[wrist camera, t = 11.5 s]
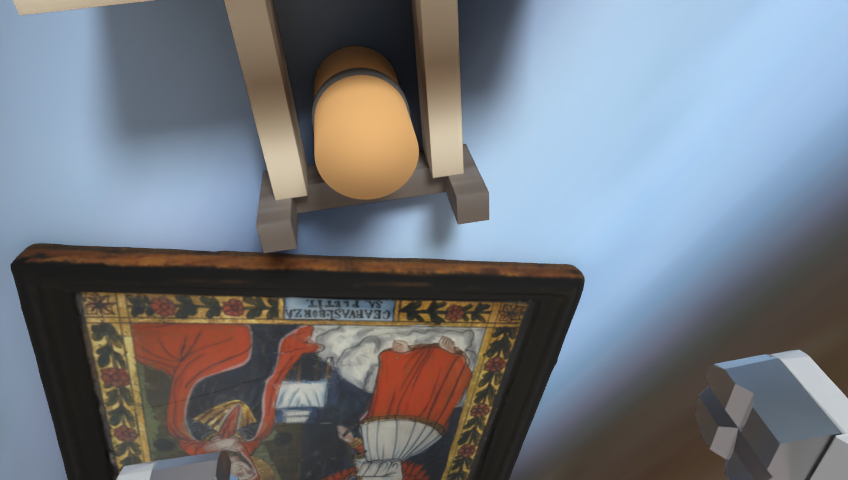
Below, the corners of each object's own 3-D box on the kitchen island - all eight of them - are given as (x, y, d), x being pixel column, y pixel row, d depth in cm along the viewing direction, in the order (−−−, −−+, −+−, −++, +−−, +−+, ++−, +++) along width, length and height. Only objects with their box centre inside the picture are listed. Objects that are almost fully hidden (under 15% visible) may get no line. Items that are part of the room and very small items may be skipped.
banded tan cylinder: (304, 49, 27) (301, 111, 21) (395, 38, 27) (416, 96, 22) (320, 133, 30) (322, 208, 24) (403, 122, 30) (425, 193, 24)
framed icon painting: (507, 547, 57) (515, 577, 55) (119, 595, 52) (110, 631, 50) (587, 210, 36) (605, 236, 34) (-56, 235, 31) (-87, 268, 28)
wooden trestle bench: (92, -89, 23) (-8, -44, 16) (546, -133, 24) (647, -111, 17) (196, 207, 31) (162, 327, 24) (534, 159, 32) (599, 258, 25)
